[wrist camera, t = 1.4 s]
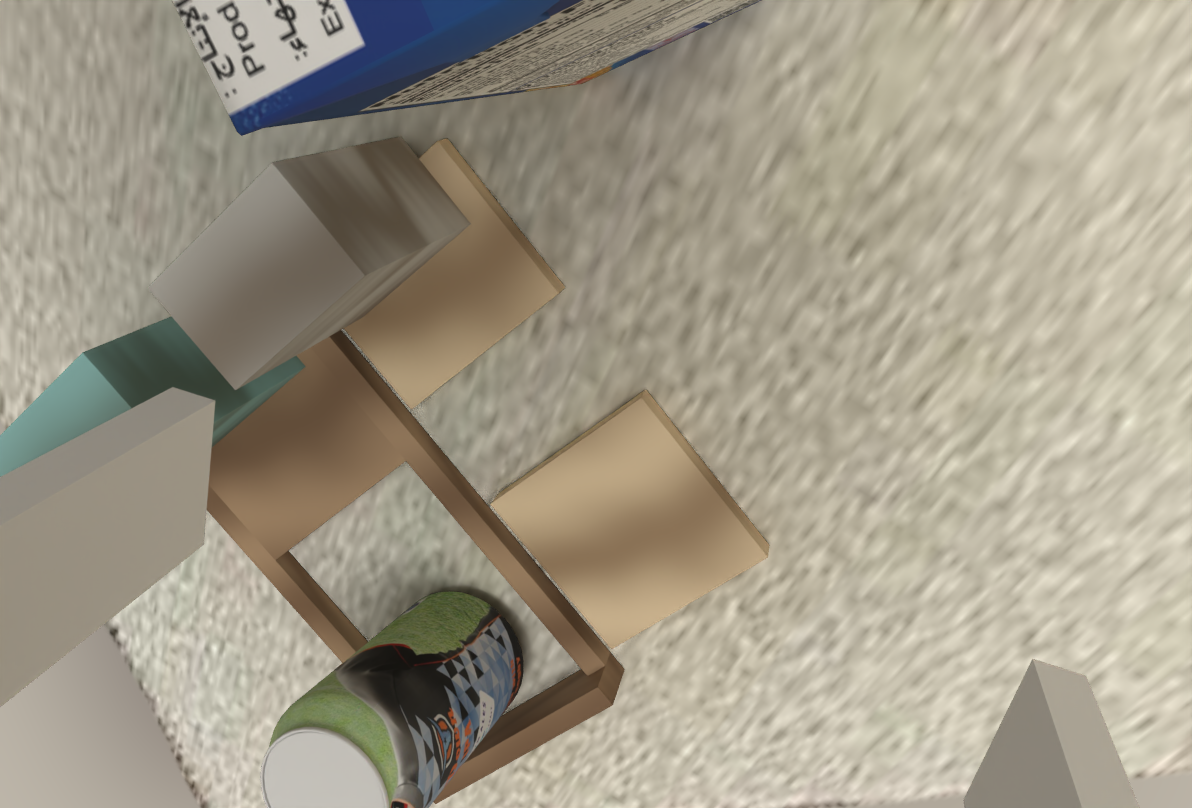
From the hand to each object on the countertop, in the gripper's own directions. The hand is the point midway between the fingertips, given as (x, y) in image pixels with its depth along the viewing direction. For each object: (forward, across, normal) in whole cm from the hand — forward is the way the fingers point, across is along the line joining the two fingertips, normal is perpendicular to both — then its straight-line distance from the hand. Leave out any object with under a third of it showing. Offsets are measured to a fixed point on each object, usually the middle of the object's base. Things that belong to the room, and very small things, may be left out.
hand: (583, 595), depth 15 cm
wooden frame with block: (+22, -11, -15) cm, 29 cm away
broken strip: (+22, -6, -7) cm, 24 cm away
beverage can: (+23, -7, -19) cm, 30 cm away
